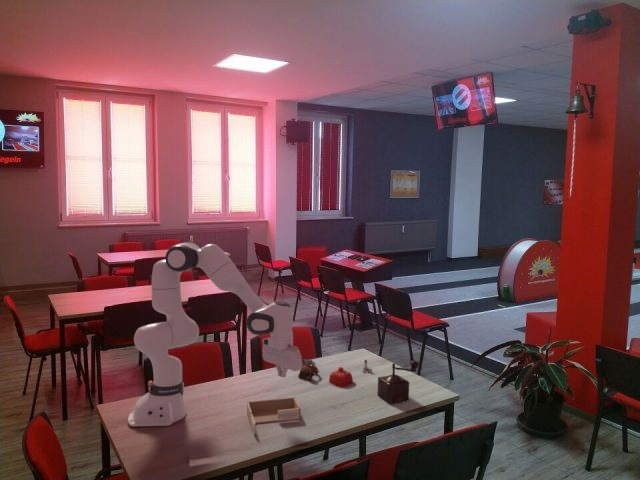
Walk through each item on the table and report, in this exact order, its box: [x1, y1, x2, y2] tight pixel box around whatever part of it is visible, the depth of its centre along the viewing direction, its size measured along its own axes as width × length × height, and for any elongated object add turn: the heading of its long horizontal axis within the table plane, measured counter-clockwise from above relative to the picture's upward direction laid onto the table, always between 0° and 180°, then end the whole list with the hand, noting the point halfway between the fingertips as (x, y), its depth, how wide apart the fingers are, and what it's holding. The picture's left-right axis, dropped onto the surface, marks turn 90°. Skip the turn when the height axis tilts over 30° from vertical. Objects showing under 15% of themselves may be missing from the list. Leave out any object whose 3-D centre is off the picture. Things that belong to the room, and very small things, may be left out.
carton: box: [246, 396, 301, 426], centre depth 201 cm, size 20×10×5 cm, turn 106°
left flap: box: [249, 413, 256, 435], centre depth 189 cm, size 9×1×4 cm, turn 16°
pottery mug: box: [297, 363, 319, 381], centre depth 243 cm, size 12×9×8 cm
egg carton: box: [301, 358, 317, 368], centre depth 256 cm, size 11×8×4 cm
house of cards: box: [362, 359, 373, 374], centre depth 250 cm, size 9×9×8 cm
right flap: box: [278, 407, 302, 422], centre depth 197 cm, size 9×1×4 cm, turn 106°
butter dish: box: [328, 366, 357, 389], centre depth 237 cm, size 12×12×8 cm
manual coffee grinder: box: [377, 360, 420, 405], centre depth 220 cm, size 16×11×18 cm
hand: (282, 376), depth 197 cm, fingers closed
